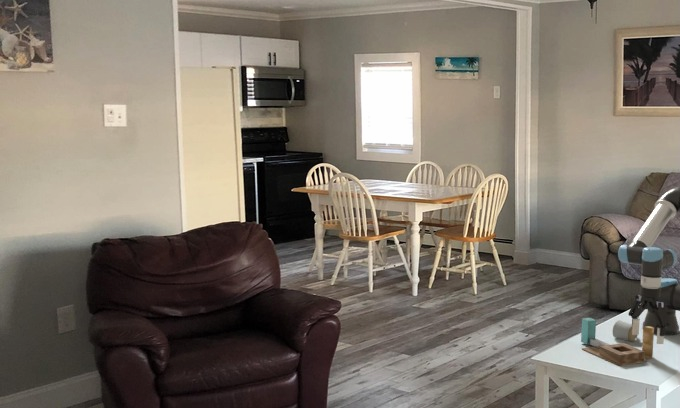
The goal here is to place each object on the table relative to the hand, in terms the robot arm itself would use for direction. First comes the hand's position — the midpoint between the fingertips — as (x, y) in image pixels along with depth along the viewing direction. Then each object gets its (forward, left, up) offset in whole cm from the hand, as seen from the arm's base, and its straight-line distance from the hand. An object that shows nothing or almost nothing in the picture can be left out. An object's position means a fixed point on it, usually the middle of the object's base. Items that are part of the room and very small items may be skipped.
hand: (647, 339), depth 322 cm
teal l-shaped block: (+11, -16, -7) cm, 20 cm away
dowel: (0, 0, -7) cm, 7 cm away
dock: (+11, -7, -7) cm, 15 cm away
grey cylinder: (-9, -23, -8) cm, 26 cm away
